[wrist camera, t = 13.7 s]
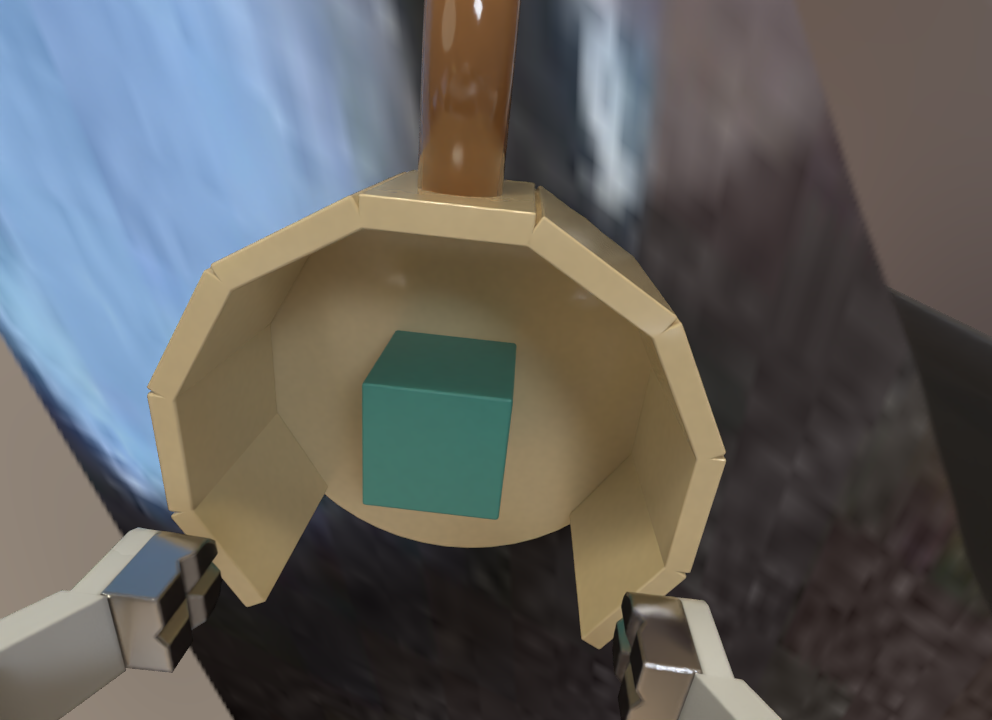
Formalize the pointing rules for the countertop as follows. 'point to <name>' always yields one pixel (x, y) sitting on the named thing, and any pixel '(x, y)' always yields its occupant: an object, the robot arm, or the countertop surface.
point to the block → (438, 424)
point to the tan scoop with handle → (451, 312)
